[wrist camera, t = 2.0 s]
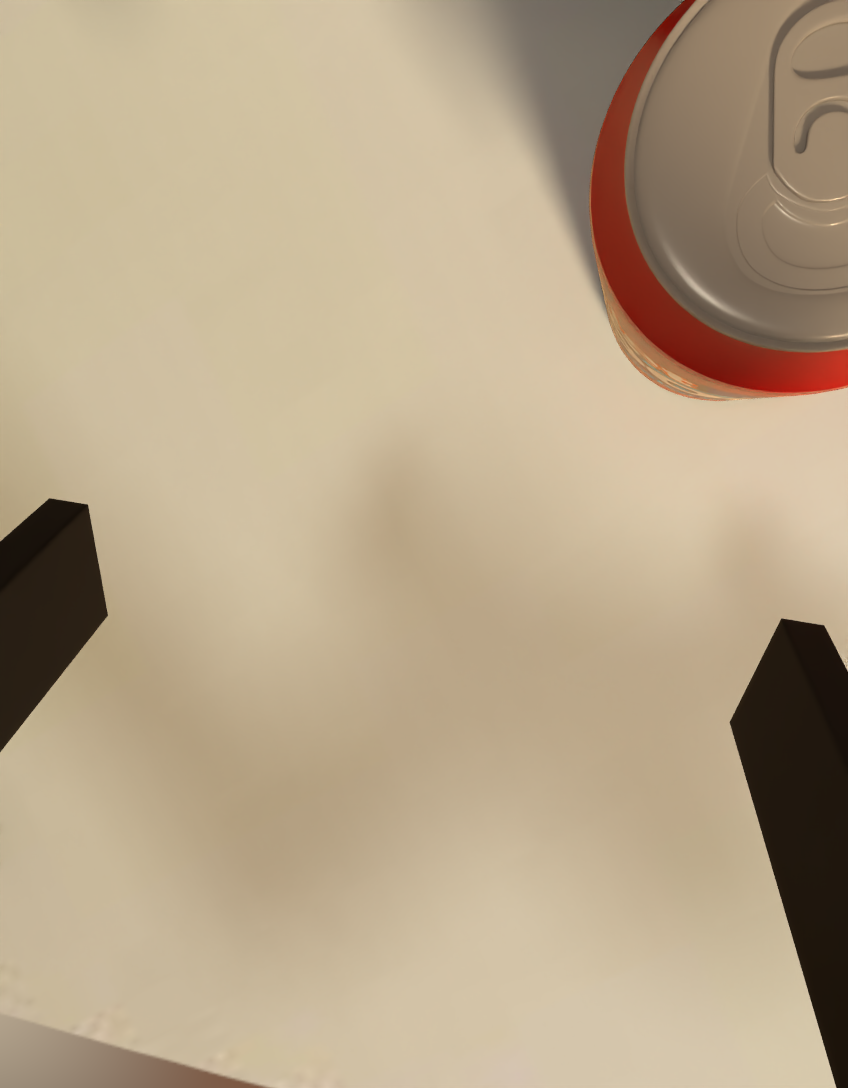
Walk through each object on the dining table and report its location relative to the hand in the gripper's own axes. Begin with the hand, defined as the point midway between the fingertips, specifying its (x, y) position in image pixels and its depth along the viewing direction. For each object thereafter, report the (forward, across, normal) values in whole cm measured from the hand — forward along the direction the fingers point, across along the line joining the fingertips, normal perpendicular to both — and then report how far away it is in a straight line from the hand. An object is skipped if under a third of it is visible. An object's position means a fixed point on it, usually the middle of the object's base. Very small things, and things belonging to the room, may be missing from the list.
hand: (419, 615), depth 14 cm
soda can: (+17, +8, +3) cm, 19 cm away
